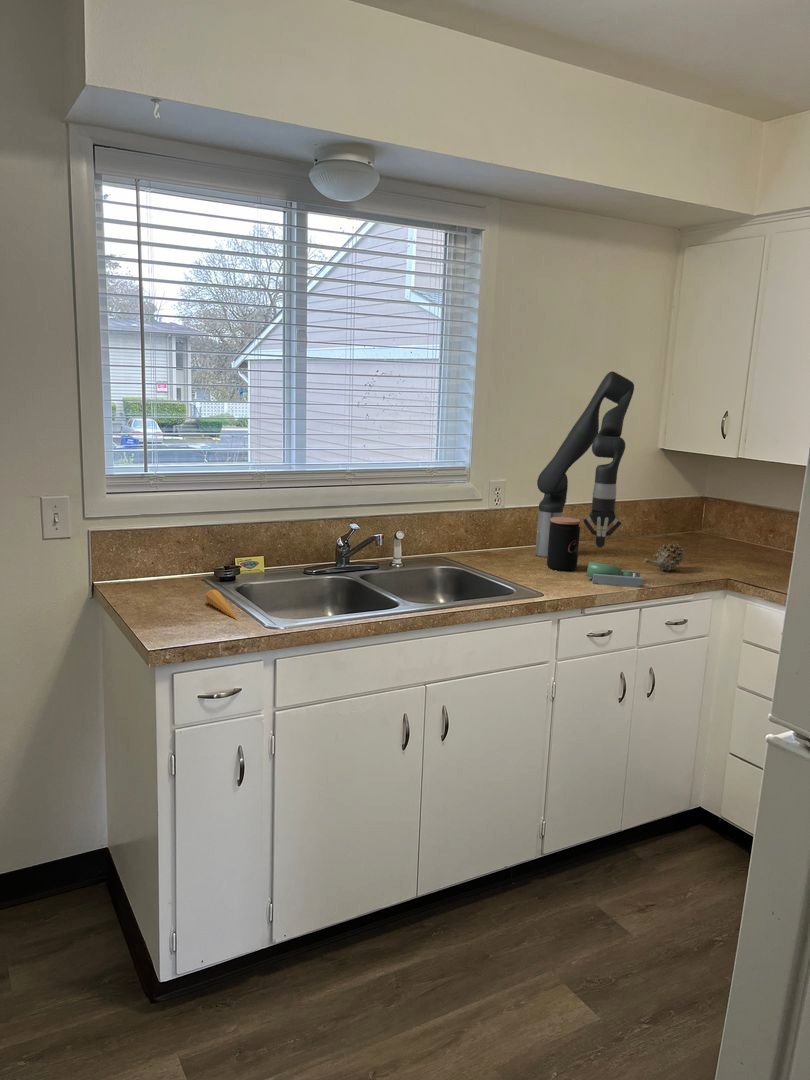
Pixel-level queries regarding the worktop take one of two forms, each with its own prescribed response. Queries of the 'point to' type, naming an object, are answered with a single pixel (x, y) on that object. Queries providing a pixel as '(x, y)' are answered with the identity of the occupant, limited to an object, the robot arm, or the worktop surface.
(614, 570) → the bottle
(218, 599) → the carrot
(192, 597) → the worktop surface
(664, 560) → the pine cone
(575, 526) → the coffee jar
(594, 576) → the cradle
